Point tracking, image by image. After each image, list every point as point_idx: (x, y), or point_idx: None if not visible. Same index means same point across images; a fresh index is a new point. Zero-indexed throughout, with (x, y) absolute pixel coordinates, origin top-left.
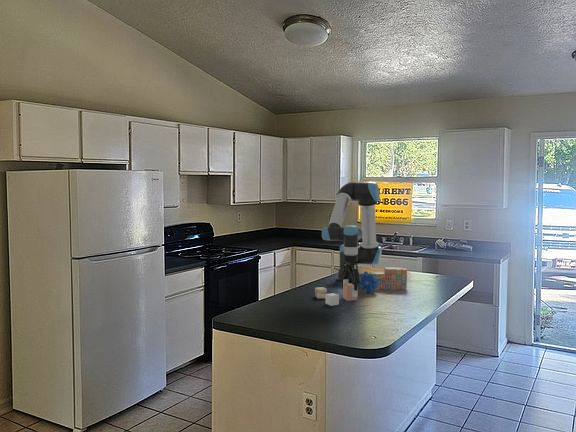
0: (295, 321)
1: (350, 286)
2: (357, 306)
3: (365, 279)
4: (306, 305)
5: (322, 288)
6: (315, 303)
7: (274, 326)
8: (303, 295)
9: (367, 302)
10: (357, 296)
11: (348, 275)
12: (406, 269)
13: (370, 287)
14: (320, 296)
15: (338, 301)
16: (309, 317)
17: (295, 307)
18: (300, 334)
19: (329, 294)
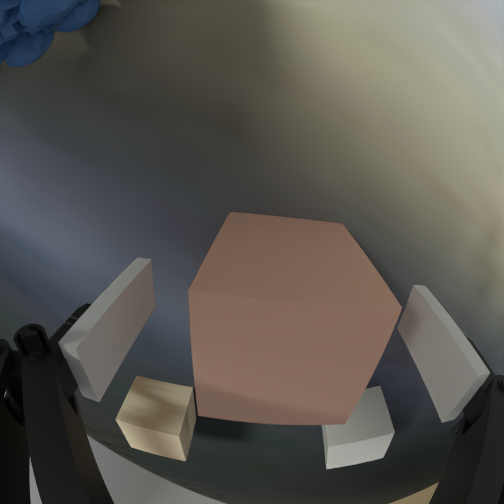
0: (430, 470)
1: (357, 389)
2: (474, 311)
3: (5, 5)
4: (310, 465)
5: (155, 440)
6: (296, 447)
7: (423, 484)
8: None
9: (445, 188)
10: (352, 237)
11: (67, 425)
12: None
13: None
14: (193, 419)
15: (384, 402)
16: (432, 457)
17: (317, 480)
18: None
19: (345, 460)
